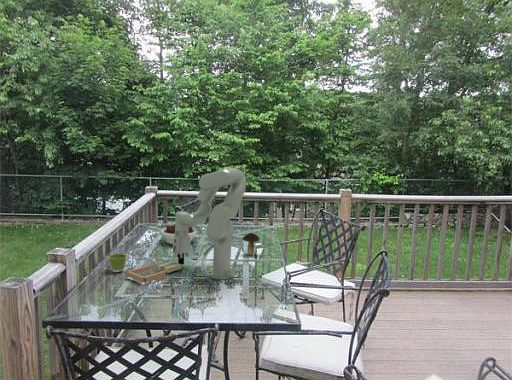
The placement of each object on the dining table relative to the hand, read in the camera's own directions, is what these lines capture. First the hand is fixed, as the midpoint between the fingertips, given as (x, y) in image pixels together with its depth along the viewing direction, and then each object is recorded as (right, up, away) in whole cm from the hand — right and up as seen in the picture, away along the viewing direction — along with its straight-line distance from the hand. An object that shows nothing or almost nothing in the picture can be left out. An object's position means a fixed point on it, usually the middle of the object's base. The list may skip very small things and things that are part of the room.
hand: (181, 264), depth 236 cm
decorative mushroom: (+40, 0, +30) cm, 50 cm away
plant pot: (-33, -2, -11) cm, 35 cm away
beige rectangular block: (-5, -3, -6) cm, 9 cm away
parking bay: (-15, -4, -19) cm, 24 cm away
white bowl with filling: (-11, +5, +52) cm, 53 cm away
